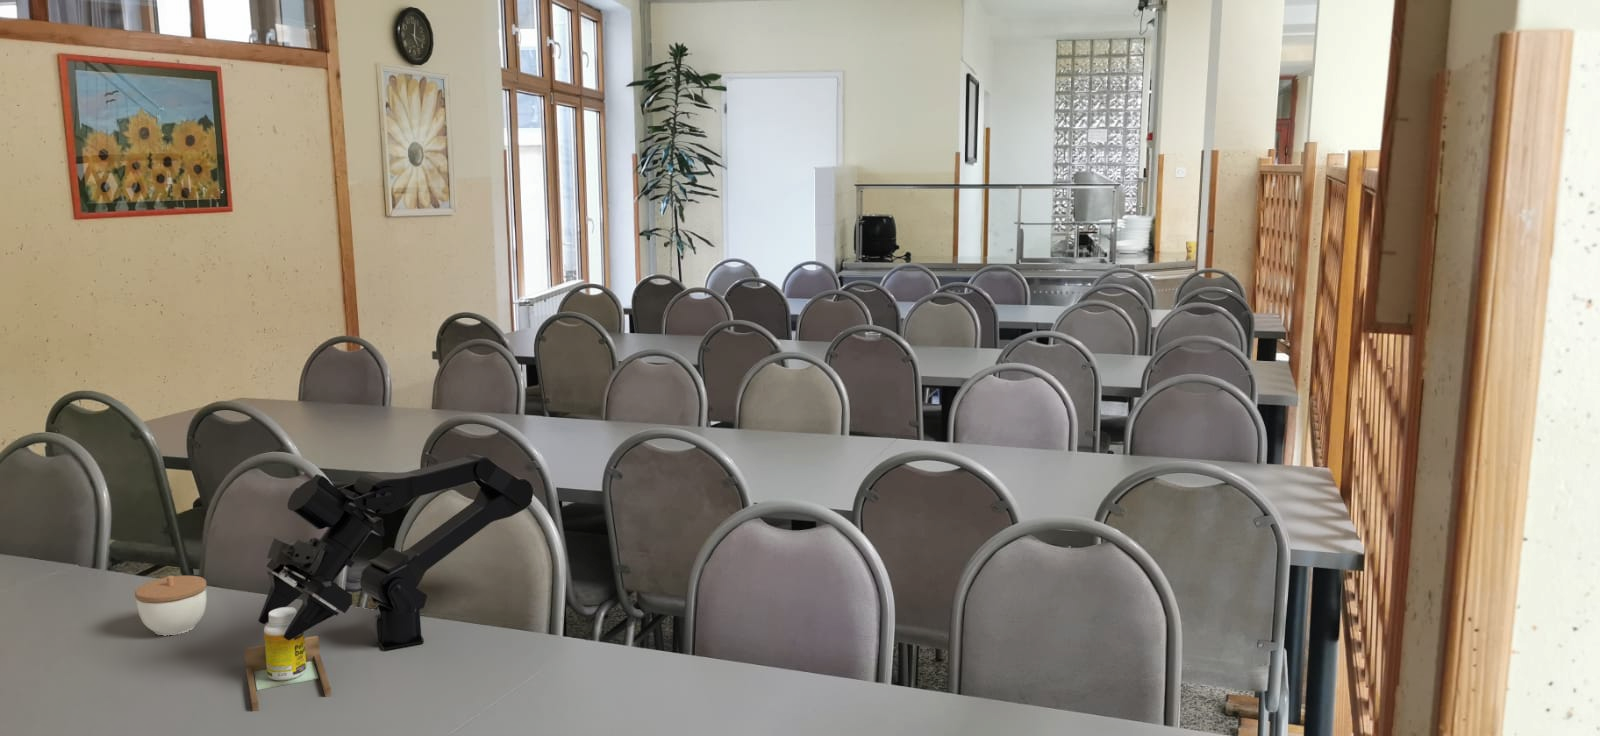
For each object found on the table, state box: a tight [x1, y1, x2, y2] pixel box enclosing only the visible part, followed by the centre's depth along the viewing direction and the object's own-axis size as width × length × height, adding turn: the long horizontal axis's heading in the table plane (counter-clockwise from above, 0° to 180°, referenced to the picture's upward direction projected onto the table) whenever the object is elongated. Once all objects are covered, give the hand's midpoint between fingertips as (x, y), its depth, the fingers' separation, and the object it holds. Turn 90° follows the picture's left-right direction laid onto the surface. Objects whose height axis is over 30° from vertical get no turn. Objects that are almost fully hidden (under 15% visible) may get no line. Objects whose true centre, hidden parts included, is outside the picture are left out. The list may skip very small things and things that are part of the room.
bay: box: [244, 635, 332, 712], centre depth 177 cm, size 11×15×4 cm
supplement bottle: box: [263, 606, 306, 680], centre depth 179 cm, size 6×6×10 cm
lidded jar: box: [134, 575, 208, 637], centre depth 198 cm, size 11×11×9 cm
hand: (273, 630), depth 177 cm, fingers open, 9 cm apart
